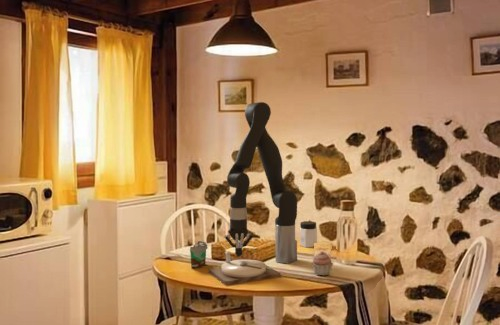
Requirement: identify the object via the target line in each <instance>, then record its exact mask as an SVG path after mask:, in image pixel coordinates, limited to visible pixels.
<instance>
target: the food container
mask: <svg viewBox="0 0 500 325" xmlns="http://www.w3.org/2000/svg"><path fill="white" fill-rule="evenodd" d="M208 249H209V247H208V244H207V242H205V241H202V240H197V243H196V244H194V245H193V246H190V247H189V252H190V265H191V268H190V269H200V268H204V267H206V263H207V262H206V260H207V259H206V258H207V250H208Z"/></svg>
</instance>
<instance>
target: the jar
mask: <svg viewBox="0 0 500 325" xmlns="http://www.w3.org/2000/svg"><path fill="white" fill-rule="evenodd" d="M299 225H300V226H299V227H300V228H299V246H300V247H303V248H314V247H313V246H314V243H317V244H318V227H317V222H316V221H311V220H308V221H307V220H306V221H301V222H300V224H299Z"/></svg>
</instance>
